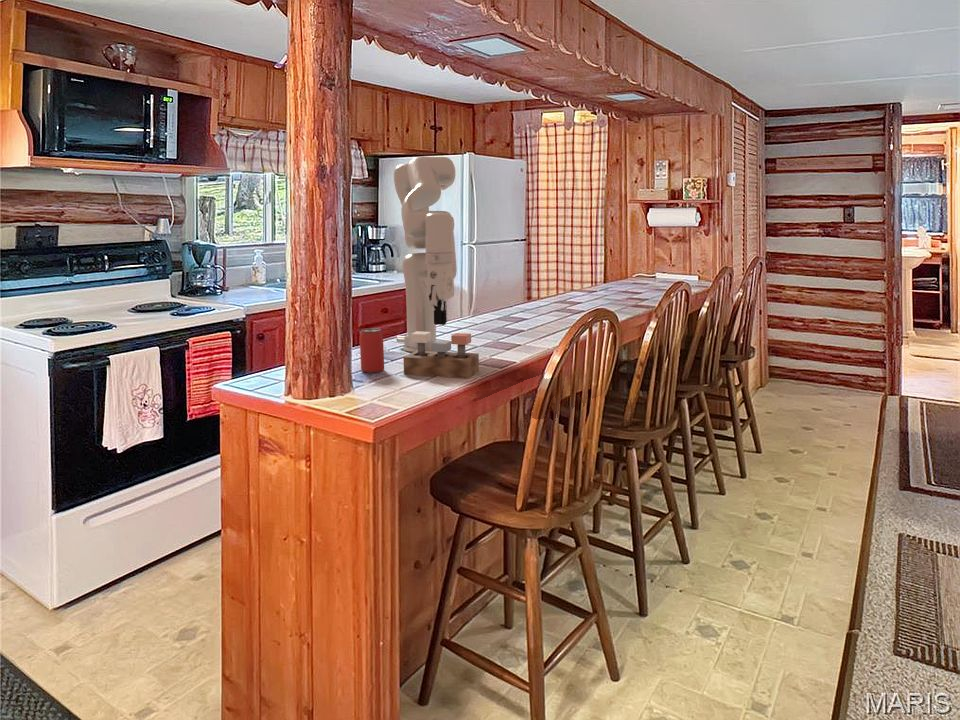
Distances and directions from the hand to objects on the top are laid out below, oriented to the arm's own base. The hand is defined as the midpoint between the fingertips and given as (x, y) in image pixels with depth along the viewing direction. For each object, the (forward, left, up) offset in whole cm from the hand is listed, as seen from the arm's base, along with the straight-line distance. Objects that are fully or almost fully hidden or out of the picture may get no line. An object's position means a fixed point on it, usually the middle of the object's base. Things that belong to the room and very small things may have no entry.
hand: (440, 323), depth 202 cm
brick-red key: (+6, -1, -10) cm, 12 cm away
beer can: (-20, -4, -14) cm, 24 cm away
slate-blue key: (0, -1, -12) cm, 12 cm away
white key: (-6, -1, -10) cm, 11 cm away
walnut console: (0, -1, -14) cm, 14 cm away
